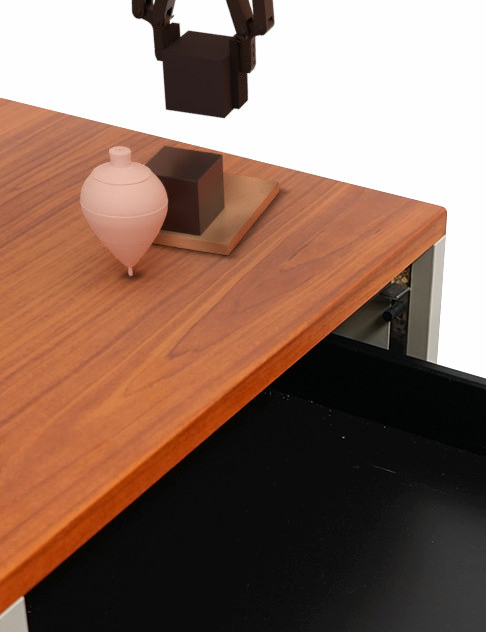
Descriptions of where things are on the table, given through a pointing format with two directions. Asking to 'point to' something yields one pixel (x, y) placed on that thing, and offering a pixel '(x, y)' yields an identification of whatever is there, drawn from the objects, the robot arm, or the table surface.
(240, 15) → the robot arm
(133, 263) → the spinning top
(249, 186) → the board
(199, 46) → the black cube
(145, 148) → the table surface
